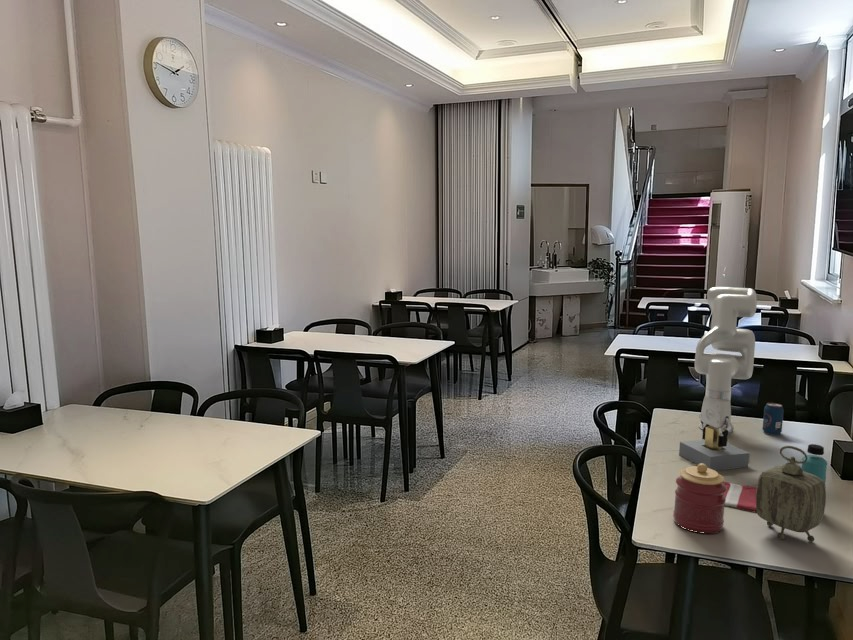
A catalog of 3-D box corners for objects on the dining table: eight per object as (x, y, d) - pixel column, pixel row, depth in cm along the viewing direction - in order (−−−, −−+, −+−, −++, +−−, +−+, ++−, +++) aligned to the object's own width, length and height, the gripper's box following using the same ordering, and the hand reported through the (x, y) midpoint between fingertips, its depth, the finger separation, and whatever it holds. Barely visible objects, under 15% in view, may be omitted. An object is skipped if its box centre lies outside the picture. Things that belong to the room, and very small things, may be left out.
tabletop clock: (821, 542, 168) (831, 451, 165) (805, 552, 163) (814, 458, 160) (766, 522, 180) (774, 436, 176) (749, 530, 175) (757, 442, 171)
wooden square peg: (703, 459, 229) (705, 426, 228) (713, 458, 230) (715, 425, 229) (711, 462, 225) (713, 429, 224) (720, 461, 227) (723, 429, 225)
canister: (729, 537, 171) (734, 474, 168) (678, 532, 173) (682, 470, 170) (716, 516, 183) (721, 457, 181) (668, 512, 186) (672, 453, 183)
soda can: (758, 430, 263) (761, 402, 261) (774, 430, 264) (776, 402, 262) (769, 436, 256) (771, 407, 255) (785, 435, 257) (788, 406, 255)
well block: (679, 454, 233) (680, 441, 232) (715, 451, 237) (716, 438, 237) (709, 470, 218) (710, 456, 217) (748, 466, 222) (749, 453, 222)
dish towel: (690, 480, 211) (691, 473, 210) (771, 496, 199) (772, 488, 198) (682, 498, 196) (682, 490, 196) (768, 517, 184) (769, 508, 184)
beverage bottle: (822, 518, 183) (830, 451, 180) (796, 512, 186) (802, 446, 184) (823, 509, 188) (830, 444, 186) (797, 504, 192) (803, 440, 189)
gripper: (692, 388, 231) (688, 435, 234) (727, 401, 215) (722, 451, 217) (709, 387, 234) (706, 434, 236) (745, 399, 217) (741, 450, 219)
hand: (714, 442), depth 227 cm, fingers open, 7 cm apart
